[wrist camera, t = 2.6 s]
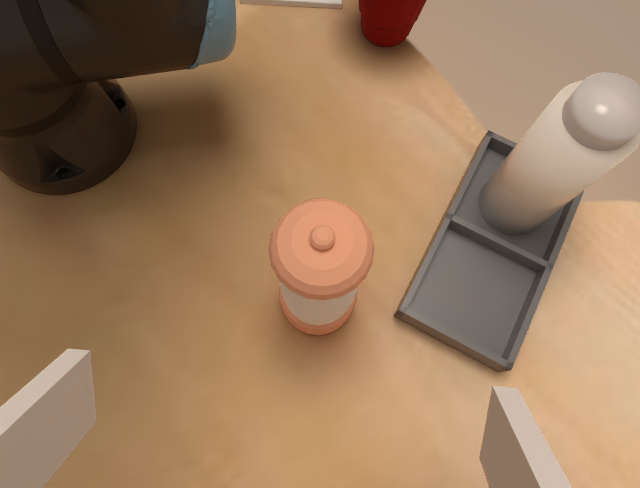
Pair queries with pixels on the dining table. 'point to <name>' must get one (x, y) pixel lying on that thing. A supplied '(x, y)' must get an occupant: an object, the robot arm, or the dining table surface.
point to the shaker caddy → (483, 271)
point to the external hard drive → (298, 3)
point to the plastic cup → (388, 20)
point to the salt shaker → (564, 152)
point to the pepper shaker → (320, 263)
